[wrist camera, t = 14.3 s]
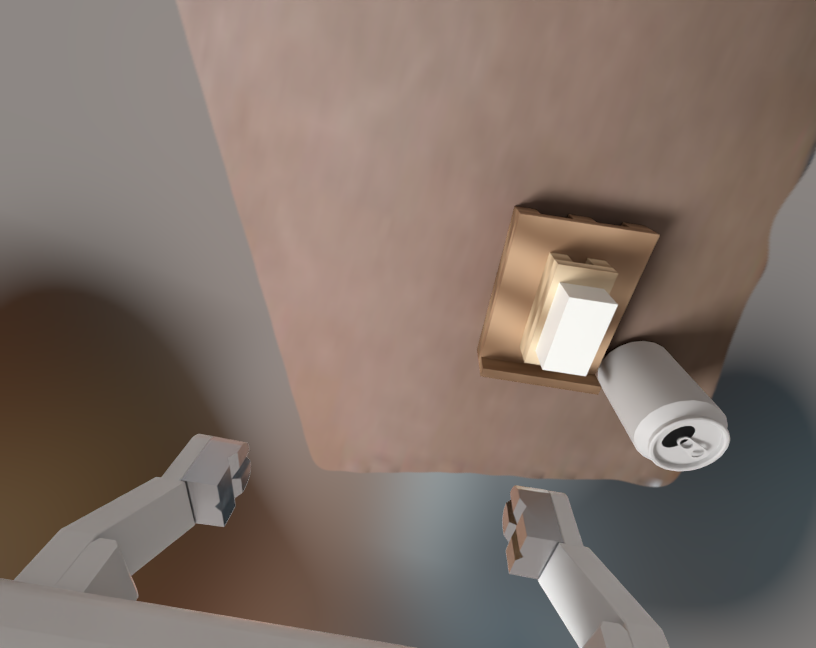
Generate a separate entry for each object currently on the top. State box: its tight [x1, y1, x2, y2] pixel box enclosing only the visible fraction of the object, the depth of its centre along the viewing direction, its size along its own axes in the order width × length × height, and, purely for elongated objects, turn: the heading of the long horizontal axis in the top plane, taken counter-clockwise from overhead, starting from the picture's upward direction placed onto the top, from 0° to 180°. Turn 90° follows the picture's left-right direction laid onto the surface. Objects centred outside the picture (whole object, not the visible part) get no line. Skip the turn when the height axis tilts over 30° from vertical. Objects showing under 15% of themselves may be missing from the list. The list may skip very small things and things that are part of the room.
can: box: [598, 341, 730, 471], centre depth 38 cm, size 8×8×12 cm
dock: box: [477, 206, 660, 395], centre depth 37 cm, size 16×12×5 cm
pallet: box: [519, 252, 618, 365], centre depth 35 cm, size 10×5×3 cm, turn 173°
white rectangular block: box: [535, 282, 618, 376], centre depth 33 cm, size 7×4×3 cm, turn 173°
